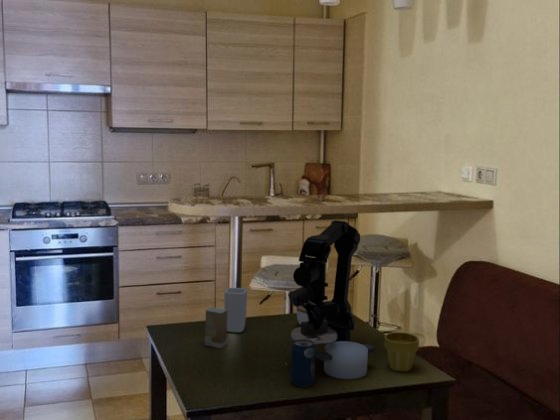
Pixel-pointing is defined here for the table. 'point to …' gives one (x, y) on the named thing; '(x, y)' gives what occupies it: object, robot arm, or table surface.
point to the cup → (236, 309)
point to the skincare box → (216, 327)
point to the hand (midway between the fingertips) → (314, 328)
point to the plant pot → (401, 350)
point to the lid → (314, 333)
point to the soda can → (303, 363)
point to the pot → (345, 359)
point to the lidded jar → (301, 314)
